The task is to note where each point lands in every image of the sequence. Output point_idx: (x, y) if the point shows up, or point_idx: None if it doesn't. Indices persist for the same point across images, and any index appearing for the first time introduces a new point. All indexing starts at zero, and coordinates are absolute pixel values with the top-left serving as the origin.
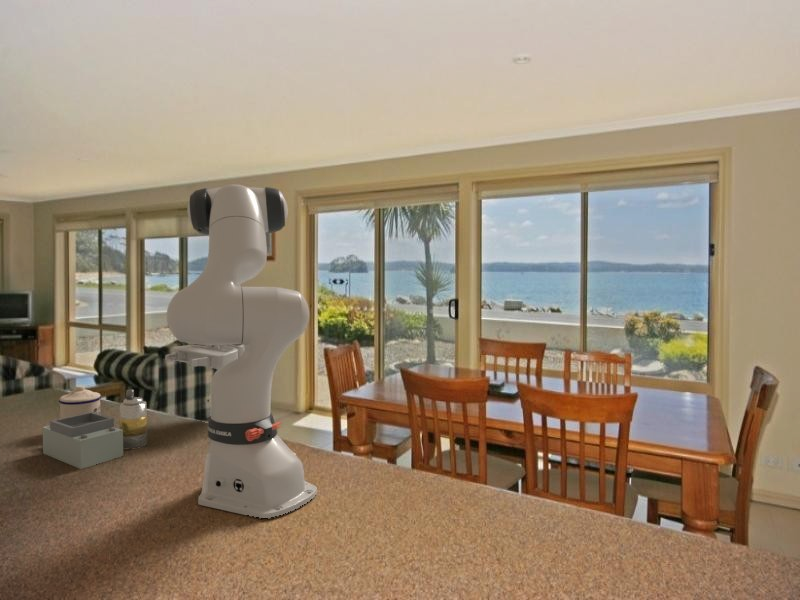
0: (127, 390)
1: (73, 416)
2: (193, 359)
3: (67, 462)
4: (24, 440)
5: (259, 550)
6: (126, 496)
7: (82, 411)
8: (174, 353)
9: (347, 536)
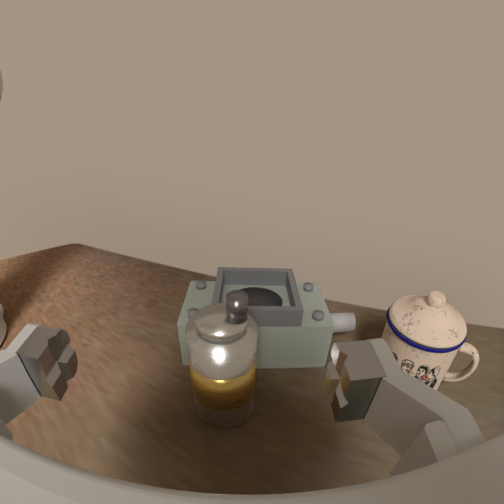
0: (240, 292)
1: (292, 287)
2: (29, 328)
3: None
4: None
5: None
6: (76, 302)
7: (383, 333)
8: (406, 395)
9: None
